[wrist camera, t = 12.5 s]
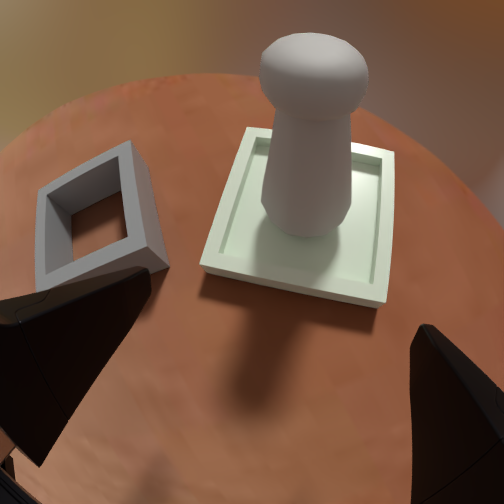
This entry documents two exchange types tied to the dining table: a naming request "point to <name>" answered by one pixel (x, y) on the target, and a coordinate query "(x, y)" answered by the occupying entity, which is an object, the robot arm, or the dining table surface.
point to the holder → (85, 194)
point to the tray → (300, 248)
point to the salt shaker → (310, 130)
